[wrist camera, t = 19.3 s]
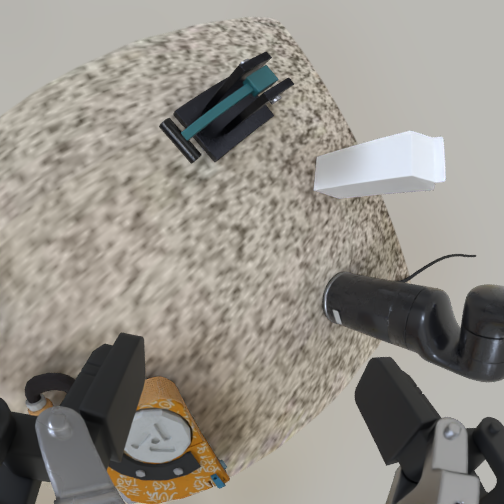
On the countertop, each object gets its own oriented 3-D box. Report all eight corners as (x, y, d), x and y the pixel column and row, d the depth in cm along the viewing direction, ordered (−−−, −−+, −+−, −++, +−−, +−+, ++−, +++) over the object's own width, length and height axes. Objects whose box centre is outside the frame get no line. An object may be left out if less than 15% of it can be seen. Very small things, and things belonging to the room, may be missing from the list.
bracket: (214, 162, 36) (257, 133, 25) (172, 114, 33) (198, 66, 22) (270, 118, 40) (322, 85, 28) (234, 75, 36) (276, 30, 25)
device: (123, 525, 24) (3, 399, 18) (117, 493, 31) (20, 369, 25) (241, 489, 33) (165, 349, 27) (223, 460, 40) (156, 324, 34)
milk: (312, 190, 44) (434, 173, 24) (316, 156, 44) (431, 124, 24) (339, 199, 46) (454, 190, 27) (342, 166, 46) (452, 145, 27)
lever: (191, 164, 29) (191, 163, 27) (160, 128, 27) (157, 124, 25) (281, 95, 29) (288, 90, 26) (252, 61, 27) (256, 54, 24)
